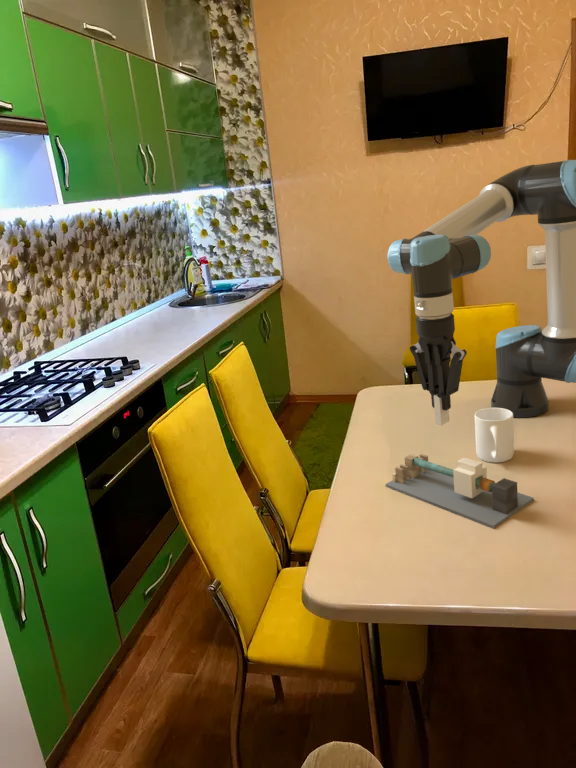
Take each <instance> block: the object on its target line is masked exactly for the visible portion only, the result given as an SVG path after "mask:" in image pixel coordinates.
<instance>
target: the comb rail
mask: <svg viewBox="0 0 576 768" xmlns="http://www.w3.org/2000/svg"><path fill="white" fill-rule="evenodd" d="M424 469H425V470H432V471H435V472H438V473H441V474H444V475H447V476H450V477H453V478H454V474H453V470H454V469H452V468H449V467H446V466H444V465H440V464H436V463H434V462H430V461H429V456H428V455H426V454H422V453H420V454H419V455H416V454H413V453H411V454H408V455H406V456H404V464H400V465H399V467H398V466H396V467H395V468H394V470H395V472H393V473H392V474H391V476H392V479H391V480H393V482H396V481H397V482H400V483H402V484H403V483H405V480H406V481H409V477H410V478H414V477H416V476H418V475H420V474H419V472H422V473H423V472H424ZM475 484H476V485H477V486H480V489H482V490H485V491H488V492H492V499H493V510H495V511H498V512H501V513H503V514H508V513H509V512H511V511H512V510H513V509H515V508H516V507H518V498H517V492H518V482H517V481H514V480H511V479H507V478H502V479H500V480H499V481H497V482H495V480H492V479H489V478H488V477H487V478H483V479H480V478H476V479H475Z"/></svg>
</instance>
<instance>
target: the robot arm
mask: <svg viewBox="0 0 576 768" xmlns="http://www.w3.org/2000/svg"><path fill="white" fill-rule="evenodd" d="M528 215H529V216H530V215H531V216H532V215H533V216H534V215H535V216H537V225H538V226H539V227H541V228H542V229H543V230H544V243H545V244H544V245H545V274H546V277H545V279H546V305H547V306H546V307H547V308H546V310H547V311H546V312H547V325H546V326H545V327H544V328H542V327H541V325H538V324H529V325H528V324H527V325H519V326H513V327H509V328H505V329H502V330H501V331H498V333H497V334H496V338H495V339H496V340H495V356H496V357H495V359H496V360H495V361H496V362H495V363H496V364H495V365H496V384H495V388H494V391H493V393H492V397H491V400H490V406H491V407H490V408H504V409H507V410H510V411H511V412H512V413H513V418H517V419H518V418H521V419H522V418H532V417H537V416H540V415H544V414H545V413H547V412H548V411H549V398H548V395H547V393H546V392H547V391H546V389H545V387H544V385H543V381H542V378H543V379H548V380H553V381H554V380H555V381H557V382H558V381H560V382H565V383H566V384H567V383H568V384H570V383H573V384H576V159H567V160H566V159H565V160H560V161H553V162H546V163H538V164H530V165H525V166H521V167H519V168H516V169H513V170H512V171H510V172H508V173H506V174H503V175H502V176H500V177H499V178H497V179H495V180H493V181H492V182H490V183H489V184H487V185H485V186H484V187H483V188H482V189H481V190H480V192H479V193H478V195H477V196H476V197H474V198H473V199H471V200H469V201H468V202H467V203H465V204H464V205H462V206H460V207H459V208H457V209H455V210H454V211H453V212H451V213H449V214H448V215H446V216H445V217H443V218H442V219H440V220H439V221H437V222H435V223H434V224H432V225H431V226H429V227H427V228H426V229H424V230H423V231H421V232H419V234H416V235H415V236H414V237H412V238H401V239H396V240H395V241H393V242H392V243H391V244H390V246H389V248H388V251H387V256H386V257H387V261H388V266H389V268H390V269H391V270H392V271H393V272H394V273H398V274H405V275H411V276H412V277H411V279H412V287H413V299H414V300H413V301H414V311H415V315H416V318H415V324H416V325H415V326H416V334H417V336H419V337H418V339H417V343H415V344H413V345H410V346H409V351H410V352H411V355H412V356H413V358H414V362H415V365H416V369H417V373H418V376H419V379H420V384H421V387H422V389H423V390H424V391H428V392H429V394H430V395H431V397H430V398H431V406H432V408H433V409H434V418H435V425H437V426H441V427H442V426H444V425H446V424H447V423H449V422H450V411H449V410H450V409H451V408H452V404H451V403H452V402H451V395H453V394H455V393H457V392H459V389H460V388H459V387H460V380H461V376H462V369H463V368H462V367H463V364H464V363H463V362H464V359H465V357H466V356H467V354H468V353H467V350H466V349H460V348H459V347H458V346H457V343H456V340H455V338H454V334H455V331H456V327H455V326H456V324H455V315H454V314H453V312H454V311H455V307H454V297H453V296H454V293H453V284H452V283H453V280H455V279H457V278H462V277H464V276H468V275H471V274H475V273H477V272H478V271H481V270H483V269H484V268H486V267H487V265H488V264H489V263H490V260H491V257H492V250H491V246H490V245H491V244H490V243H489V242H488V240H487V239H486V238H485V237H484V236H483V235H479V234H480V233H482V232H483V231H485V230H486V229H487V228H489V227H490V226H491V225H493V224H495V223H503V222H506V221H507V220H508V219H509V218H513V217H518V216H519V217H520V216H528Z"/></svg>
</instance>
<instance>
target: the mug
mask: <svg viewBox="0 0 576 768" xmlns="http://www.w3.org/2000/svg"><path fill="white" fill-rule="evenodd" d="M474 431H475V432H474V434H475V435H474V436H475V438H474V439H475V453H476V456H477V458H478V459H479V460H481V461H483V462H487V463H493V464H494V463H496V464H497V463H503V462H507V461H509V460H511V459H512V458H513V457H514V454H515V446H514V445H515V444H514V443H515V441H514V439H515V438H514V437H515V436H514V433H515V432H514V417H513V413H512V412H511V411H510V410H507V409H504V408H491V407H485V408H482V409H478V410H476V411H475V413H474Z"/></svg>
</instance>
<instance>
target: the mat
mask: <svg viewBox="0 0 576 768" xmlns="http://www.w3.org/2000/svg"><path fill="white" fill-rule="evenodd" d="M419 474H420V475H418V476H416V477H414V478H410V477H409V481H406V480H405V483H403V484H402V483H400V482H397V481H396V482H393V479H391V480H390V481H389V482H387V483H385V487H386V488H389V489H391V490H394V491H397V492H399V493H401V494H405V496H409V497H412V498H415V499H416V500H420V501H421V502H425V503H428V504H430V505H432V506H434V507H437V508H439V509H443V510H445V511H447V512H450V513H452V514H455V515H458V516H461V517H462V518H466V519H468V520H470V521H473V522H475V523H478V524H480V525H484V526H485V527H488V528H491V529H493V530H494V529H495V528H496V527H497V526H499V525H500V524H502V523H504V522H505V521H506V520H508V519H509V518H510V517H512V516H513V515H515V514H516V513H518V512H519V511H520V510H522V509H523V508H525V507H526V506H527V505H529V504H531V503H532V502H533V501H534V500H535V497H534V496H530V495H527V494H524V493H521V492H518V491H517V498H518V507H516V508H515V509H513V510H512V511H511V512H509V513H508V514H503V513H501V512H498V511H495V510H493V499H492V492H488V491H483V492H481V493H480V494H478V495H477V496H475V497H474V498H470V497H467V496H464V495H461V494H458V493H456V492H454V478H453V477H450V476H447V475H444V474H441V473H438V472H435V471H432V470H425V469H424V472H423V473H422V472H419Z"/></svg>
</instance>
